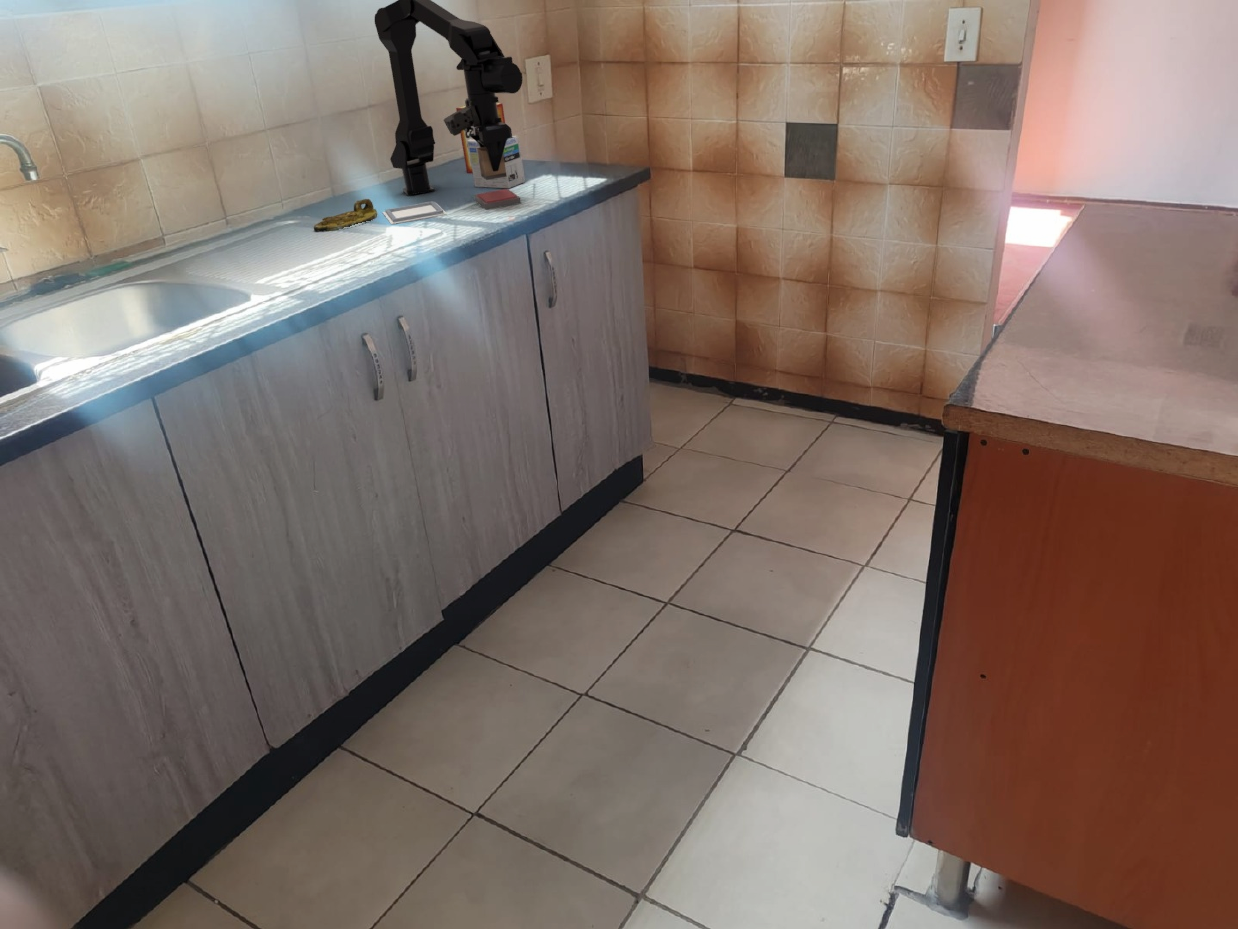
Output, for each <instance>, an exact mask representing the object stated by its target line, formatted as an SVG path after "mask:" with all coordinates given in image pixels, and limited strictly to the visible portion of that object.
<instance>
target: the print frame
mask: <svg viewBox="0 0 1238 929" xmlns="http://www.w3.org/2000/svg"><path fill="white" fill-rule="evenodd" d="M384 210H385V211H382V214H383V215H384V216H385V219H387V221H388V222H389V223H390V225H391V224H392V225H397V224H396V223H398V224H403V223H409V222H413V221H419V220H425V219H430V218H435V217H441V216H447V214H448V213H447V212H446V211H445V210H444V209H443V208H442V207H441V206H440V205H439V204H438V203H437V202H435V201H434V200H433V201H432V200H431V201H426V202H419V203H416V204H415V203H414V204H409V205H403V206H398V207H393V208H387V209H384Z"/></svg>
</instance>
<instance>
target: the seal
mask: <svg viewBox="0 0 1238 929" xmlns="http://www.w3.org/2000/svg"><path fill="white" fill-rule="evenodd" d="M362 205H364V206H363V207H362ZM377 215H379V214H378V212H377V209H376V208H374V204H373V202H372V200H371V199H370V198H364V199H361V200H356V201H355V202H354V204H353V210H351V211H350V210H349V211H345V212H343V213H340V214H337V215H333V216H332V215H331V216H326V217H323V218H322V220H321V221H319V222H318V223H315V224H314V226H313V231H314V232H336V231H340V230H339V229H343V228H344V227H350V226H352V225H355V224H358V223H362V222H366V221H370V222H372V221H374V220H375V219H376V218H378V216H377ZM373 219H374V220H373ZM371 220H372V221H371ZM343 230H344V229H343Z"/></svg>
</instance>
